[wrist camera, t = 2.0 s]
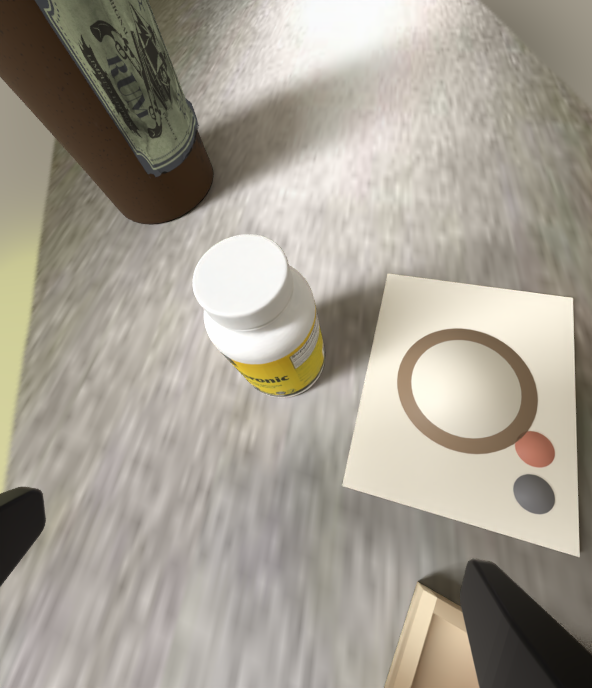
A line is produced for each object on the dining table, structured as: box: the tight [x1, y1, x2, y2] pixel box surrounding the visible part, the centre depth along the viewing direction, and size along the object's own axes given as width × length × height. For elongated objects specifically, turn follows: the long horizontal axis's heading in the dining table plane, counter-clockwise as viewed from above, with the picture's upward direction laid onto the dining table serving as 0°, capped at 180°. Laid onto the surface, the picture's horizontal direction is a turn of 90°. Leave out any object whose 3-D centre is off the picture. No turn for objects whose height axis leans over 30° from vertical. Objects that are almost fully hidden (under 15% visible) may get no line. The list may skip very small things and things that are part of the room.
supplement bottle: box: [192, 234, 325, 398], centre depth 18 cm, size 5×5×10 cm
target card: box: [342, 274, 580, 557], centre depth 19 cm, size 14×11×1 cm
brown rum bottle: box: [0, 0, 213, 224], centre depth 20 cm, size 11×11×25 cm
